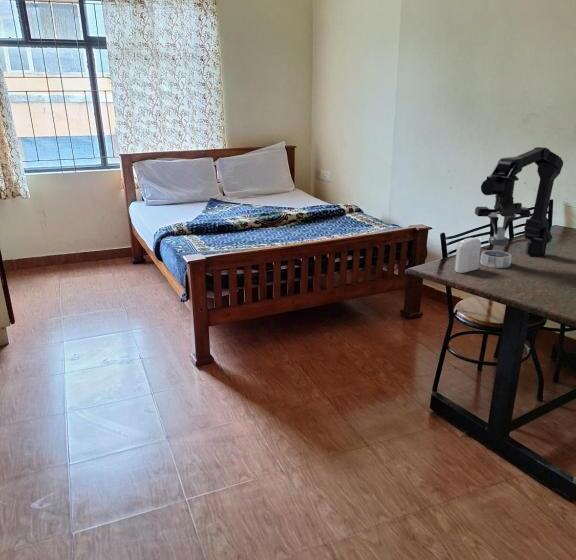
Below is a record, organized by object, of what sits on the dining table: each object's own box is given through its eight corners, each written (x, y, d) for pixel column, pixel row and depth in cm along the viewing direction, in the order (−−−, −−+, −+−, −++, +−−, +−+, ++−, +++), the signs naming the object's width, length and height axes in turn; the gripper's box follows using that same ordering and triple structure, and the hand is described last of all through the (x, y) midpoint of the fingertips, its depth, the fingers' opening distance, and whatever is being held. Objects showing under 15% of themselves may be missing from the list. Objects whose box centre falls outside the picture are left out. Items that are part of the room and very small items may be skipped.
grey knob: (505, 241, 196) (507, 226, 194) (510, 245, 189) (512, 230, 187) (486, 240, 196) (488, 225, 194) (491, 245, 190) (493, 229, 188)
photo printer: (470, 266, 192) (473, 235, 188) (479, 269, 188) (483, 237, 184) (452, 271, 186) (455, 239, 183) (461, 274, 183) (465, 241, 179)
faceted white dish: (505, 260, 200) (506, 250, 199) (513, 268, 190) (514, 258, 189) (477, 259, 201) (478, 249, 200) (484, 267, 191) (485, 257, 190)
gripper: (484, 196, 180) (479, 238, 185) (538, 197, 178) (532, 239, 183) (476, 191, 191) (472, 231, 195) (528, 192, 188) (522, 232, 193)
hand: (499, 234), depth 192 cm, fingers closed on grey knob, 2 cm apart
